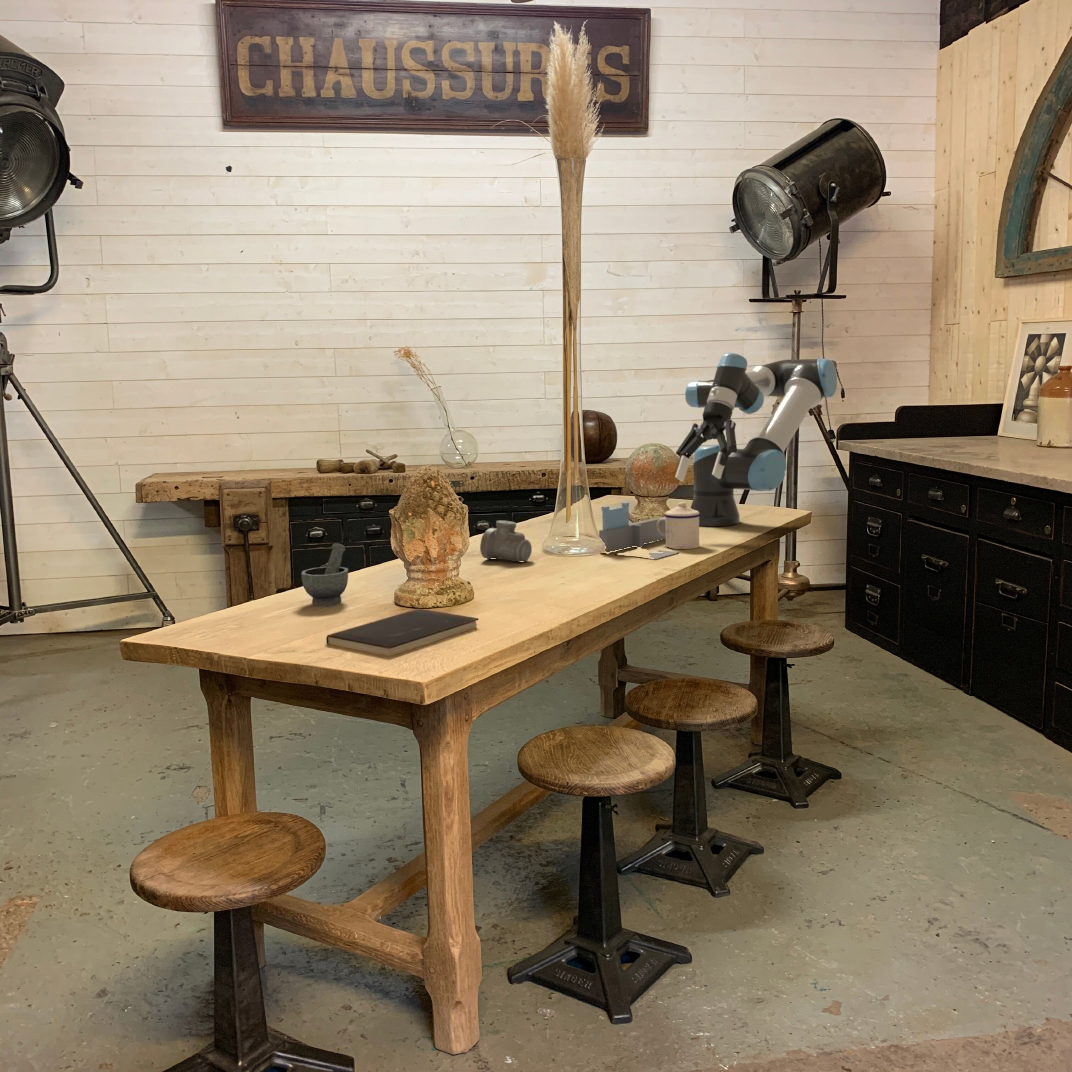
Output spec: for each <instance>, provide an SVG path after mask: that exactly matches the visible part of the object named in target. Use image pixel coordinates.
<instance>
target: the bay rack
mask: <svg viewBox="0 0 1072 1072" xmlns="http://www.w3.org/2000/svg"><path fill="white" fill-rule="evenodd" d="M661 518H666V517H665V516H658V517H652V518H650V519H649V518H648V519H645V520H640V521H635V522H629V525H628V526H623V527H619V528H615V529H610V530H606V531H605V530H603V529H599V530H598V535H599V536H598V538H599V537H600V538H601V539H602V541H603V542H604V543H605V546H606V549H605V551H606V552H610V551H615V550H619V549H624V548H627V547H632V546H637V547H641V546H644V545H643V544H644V543H649V542H652V541H657V540H661V539H666V537H664V536H662V535H660V534H659V532H658V530H657V521H658V520H659V519H661ZM660 527H661V530H662V531H663V533H665V534H666V521H661V523H660ZM658 550H659V551H658V552H663V553H649V555H651V556H650V557H652V558H654V559H657V558H660V557H664V558H666V557H665V556H668V557H670V556H669V555H672V556H674V555H673V554H675V555H678V554H677V553H680V552H679V551H671V550H661V549H658ZM657 560H658V559H657Z"/></svg>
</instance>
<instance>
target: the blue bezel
mask: <svg viewBox="0 0 1072 1072" xmlns="http://www.w3.org/2000/svg"><path fill="white" fill-rule="evenodd" d="M629 507H630V502H628V501H627V502H626V501H624V502H621V506H620V507H615V508H610V506H609V505H608V506H607V505H605V506H601V512H602V513H601V514H602V517H601V518H602V530H605V531H606V530H610V529H615V528H619V527H623V526H628V525H629V524H630V520H629V519H630V518H629V517H630V514H629V510H630V508H629Z"/></svg>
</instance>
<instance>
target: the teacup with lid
mask: <svg viewBox="0 0 1072 1072" xmlns="http://www.w3.org/2000/svg"><path fill="white" fill-rule="evenodd" d="M677 505H678V506H675V507H673V508H672V509H670V510H666V511H665V513H664V517H666V518H661V519H659V520H658V521H657V530H658V532H659V534H660V535H662V536H664V537H666V540H665V547H666V546H667V547H669V548H668V549H670V548H673V549H672V550H679V549H685V550H693V549H698V548H699V547H700V526H699V516H700V514H699V512H698V511H696V510H693V509H692V508H691V506H687V503H686V502H685V501H684V502H683V501H682V502H678V504H677ZM661 521H666V534H665V533H663V531H662V530H661V527H660V523H661ZM667 547H666V548H667Z"/></svg>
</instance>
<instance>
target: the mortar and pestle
mask: <svg viewBox="0 0 1072 1072" xmlns="http://www.w3.org/2000/svg"><path fill="white" fill-rule="evenodd" d="M331 549H332V550H331V553H330V556H329V559H328V561H327V565H326V566H323V567H322V566H320V567H313V568H312V567H311V568H309V569H305V570H302V571H301V573H300V574H301V582H302V587H303V589H304V590H305V592H306V594H307V595H308V596H309V597H311V598H312V600H311V604H312V606H314V607H318V608H319V607H325V608H326V607H327V608H328V607H332V606H337V605H340V604H342V596H341V595H342V594H343V593H344V592H345V590H346V588H347V586H348V582H349V581H348V580H349V568H348V567H343V566H341V564H342V560H343V559H342V558H343V554H344V552H345V551H346V546H345V545H343V544H341V543H333V544H332V545H331Z"/></svg>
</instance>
